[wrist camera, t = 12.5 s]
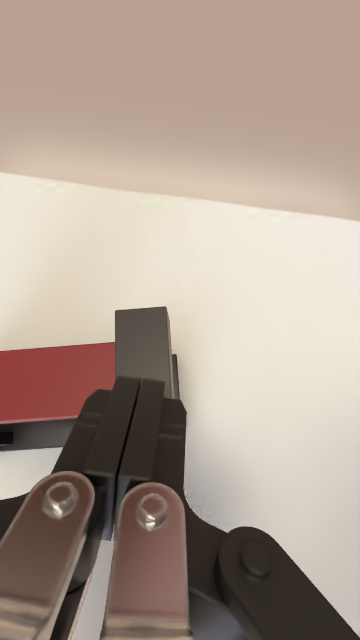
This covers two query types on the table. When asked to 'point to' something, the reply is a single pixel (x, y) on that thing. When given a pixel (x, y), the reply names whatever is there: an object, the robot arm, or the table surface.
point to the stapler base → (50, 428)
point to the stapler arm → (84, 368)
